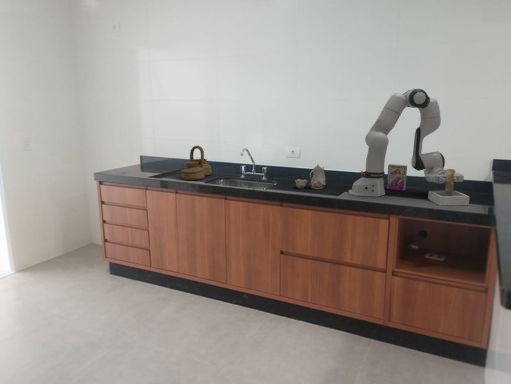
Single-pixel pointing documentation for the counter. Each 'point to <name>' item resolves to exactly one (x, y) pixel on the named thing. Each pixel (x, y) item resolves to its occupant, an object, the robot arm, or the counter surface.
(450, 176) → the wooden peg
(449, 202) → the bore box
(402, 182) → the candy bar box
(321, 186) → the chinaware
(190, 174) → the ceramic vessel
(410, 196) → the counter surface
